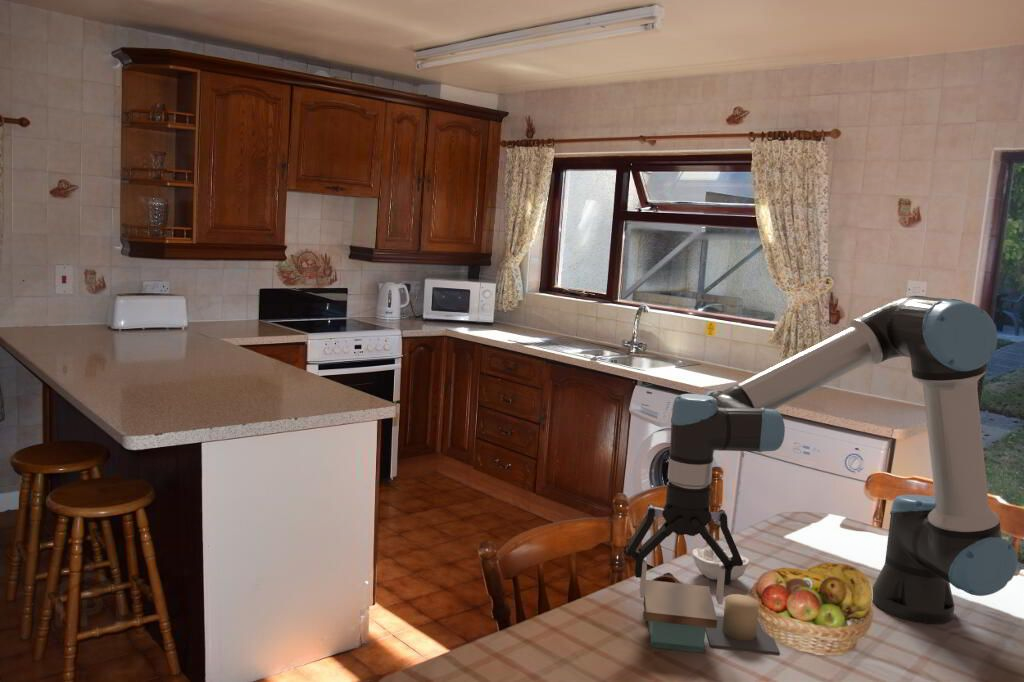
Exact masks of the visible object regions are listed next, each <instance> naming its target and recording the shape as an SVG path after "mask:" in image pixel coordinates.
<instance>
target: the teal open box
mask: <svg viewBox="0 0 1024 682" xmlns="http://www.w3.org/2000/svg"><path fill="white" fill-rule="evenodd" d="M647 626H648V627H647V628H648V634H649V641H650V642H649V643H650V647H651V648H656V649H665V650H677V651H684V652H693V653H702V654H703V653H704V648H705V637H706V630H705V629H706V627H698V626H689V625H681V624H672V623H663V622H654V621H647Z"/></svg>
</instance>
